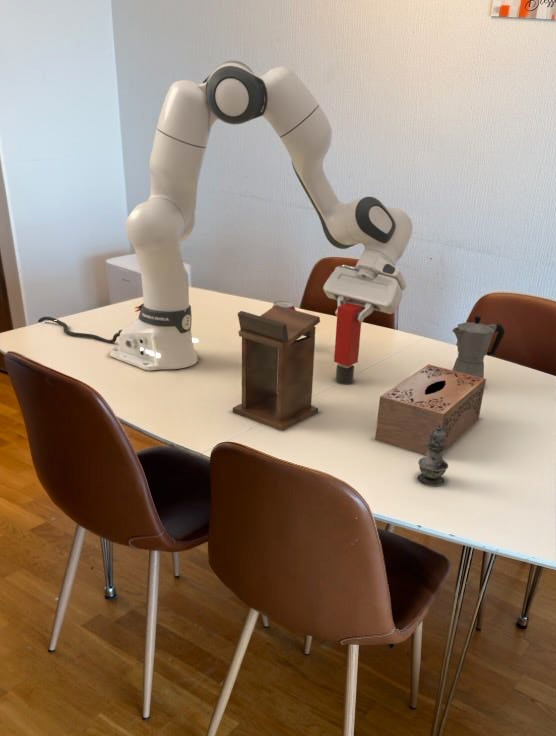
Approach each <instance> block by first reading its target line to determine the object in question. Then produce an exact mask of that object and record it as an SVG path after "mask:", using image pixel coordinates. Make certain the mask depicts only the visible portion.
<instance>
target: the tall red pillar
mask: <svg viewBox="0 0 556 736" xmlns="http://www.w3.org/2000/svg"><path fill="white" fill-rule="evenodd" d="M337 308H338V310H337V309H336V310H337V316H336V325H335V326H336V327H335V340H334V341H335V342H334V355H333V363H336V364H337V365H336V372H335V381H336V382H337V383H338V384H341V385H350V384H353V383H354V375H355V364H357V363H358V362H359V355H360V353H359V352H360V344H361V343H360V341H361V330H362V329H361V328H362V323H360V322H357V321H356V320H355V316H356V314H357V312H359V313H360V312H362V311H363V308H364V307H362V306H358V305H354V304H350V303H346V304H344V305H341V306H338V305H337Z"/></svg>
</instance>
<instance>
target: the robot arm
mask: <svg viewBox="0 0 556 736" xmlns="http://www.w3.org/2000/svg"><path fill="white" fill-rule="evenodd" d="M261 117H263V118H264V119H265V120H266V121H267V122H268V123H269V124H270V125H271V127H272V128H273V130H274V131H275V133H276V134H277V135H278V137H279V139H280V140H281V142H282V144H283V146H284V147H285V148H286V151H287V152H288V154H289V157H290V159H291V165H292V168H293V171H294V174H295V176H296V177H297V179H298V181H299V183H300V185H301V187H302V188H303V190H304V192H305V194H306V196H307V197H308V199H309V201H310V203H311V205H312V207H313V209H314V210H315V212H316V214H317V216H318V218H319V221H320V224H321V227H322V230H323V234H324V236H325V238H326V240H327V241H328V242H329V243H330V244H331V246H333V247H335V248H337V249H340V250H346V249H349V248H351V247H353V246H356V245H358V244H359V245H360V244H361V245H362V246H363V247H364V250H363V252H362V254H361V255H360V257H359V259H358V261H357V262H356V265H355V266H354V265H348V264H347V263H346V264H345V263H343V264H341V265H337V266H336V267H335V268H334V271H332V272H331V274H330V275H329V277H328V278H327V280H326V281H325V282H324V284H323V287H322V288H323V289H322V290H323V292H324V294H325V295H326V297H327V298H328V299H331V300H336V302H337V303H336V304H337V309H335V311H334V313H335V316H336V317H337V310H338V306H341V305H344V304H347V303H349V304H353V305H356V306H360V307H363V308H364V309H362V312H360V313H359V312H357V314H356V316H355V320H356V321H357V322H360V323H361V324H362V323H363V322H364V319H365V318H367V317H368V316H370V315H371V314H373V312H374V311H377V312H381V313H385V314H388V315H392V314H394V313H395V312H397V310H398V308H399V306H400V304H401V301H402V299H403V291H405V289H406V287H407V284H406V280H405V278H404V276H403V274H402V272H401V270H400V269H399V268H398V267H397V263H398V261H399V260H400V259H401V258H402V257H403V255H404V253H405V251H406V249H407V247H408V245H409V242H410V240H411V237H412V234H413V222H412V221H413V220H412V219H411V218H410V216H409V215H408V214H407V212H406V211H404V210H403V209H400V208H398V207H389V206H387V205H384V204H383V203H382V202H381V201H380V200H379V199H378V198H376V197H374V196H365V197H361V198H358V199H355V200H353V201H351V202H350V201H349V202H347V203H344V202H343V201H341V200H340V199H339V198H338V196H337V194H336V192H335V190H334V188H333V187H332V185H331V183H330V181H329V179H328V177H327V176H326V174H325V170H324V159H325V157H326V155H327V154H328V152H329V150H330V148H331V144H332V139H333V129H332V127H331V124H330V121H329V119H328V117H327V115H326V113H325V112H324V110H323V108H322V107H321V106H320V104H319V102H318V101H317V99H316V97H315V96H314V95H313V94H312V92H311V90H310V89H309V88H308V86H307V85H306V84H305V83H304V82H303V81H302V79H301V78H300V77H299V76H298V75H297V74H296V73H295V72H294V70H292V69H291V68H290V67H287V66H276V67H274V68H271V69H269V70H268V71H267V72H265V74H263V75H257V74H255V73H254V71H252V69H251V68H250V67H249V66H248V65H247V64H244V63H243V62H241V61H238V60H228V61H224V62H222V63H220V64H219V65H217V66H216V67H215V68H214V69H213V71H212V72H211V73H210V74H209V75H208V76H207V77H206V78H205V79H204V80H203V81H202V83H199V82H195V81H192V80H189V79H188V80H187V79H181V80H177V81H174V82H173V83H172V84H171V85H170V87H169V88H168V91H167V93H166V96H165V98H164V101H163V104H162V107H161V110H160V114H159V116H158V121H157V124H156V125H157V126H156V129H155V135H154V140H153V144H152V149H151V153H150V157H149V158H150V159H149V163H148V164H149V165H148V166H149V169H150V194H149V198H148V199H147V200H146V201H143V202H141V203H139V204H138V205H136V206H135V207H134V208H133V209H132V210H131V212H130V214H129V215H128V216H127V219H126V221H125V233H126V236H127V239H128V241H129V243H130V244H131V245H132V246H133V248H134V251H135V256H136V258H137V262H138V267H139V270H140V277H141V287H142V301H143V303H141V304H140V305H138V306H135V307H134V309H135V310H134V312H135V313H137V312H139V313H138V317H137V319H135V320H134V321H132V322H131V323H130V324H129V325H127V326H126V327H124V328H123V329H120V330H119V329H118V332H115V334H113V336H112V338H111V339H106V338H103V337H101V336H99V335H96V334H92V333H86V332H85V333H84V332H76V331H75V332H74V331H70V330H68V325H67V323H65V322H64V321H62V320H59V319H57V318H55V317H52V316H42V317H40V318H39V319H38V320H37V323H43V322H44V321H51V322H53V323H56V324H58V325H59V326H62V327H63V329H62V330H63V332H64V333H65V334H66V335H69V336H73V337H82V338H91V339H94V340H98V341H99V342H102V343H105V344H114V343H115V342H116V341H117V340H118V345H117V346H114V347H113V348H112V349H111V350H110V352H109V357H111V358H113V359H116V360H118V361H121V362H124V363H126V364H129V365H132V366H134V367H136V368H139V369H142V370H145V371H158V370H178V369H179V370H180V369H185V368H188V367H192V366H194V365H195V364H196V363H197V362H198V361H199V360H198V356H197V353H196V349H195V345H194V343H199V339H198V338H194V337H193V335H192V319H193V317H192V306H191V305H190V291H189V290H190V289H189V274H188V272H187V270H186V268H185V265H184V261H183V257H182V253H181V252H182V251H181V243H182V242H184V241H185V240H186V239H187V238H188V237H189V236H190V235H191V233H192V232H193V229H194V227H195V224H196V207H197V195H198V185H199V179H200V175H201V171H202V166H203V163H204V159H205V154H206V150H207V147H208V142H209V139H210V134H211V130H212V128H213V126H214V124H215V123H216V122H217V120H220V121H221V122H223V123H225V124H228V125H241V124H245V123H247V122H250V121H252V120H255V119H257V118H261ZM54 320H57V321H54ZM117 338H118V339H117Z"/></svg>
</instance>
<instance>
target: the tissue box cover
mask: <svg viewBox="0 0 556 736" xmlns="http://www.w3.org/2000/svg"><path fill="white" fill-rule="evenodd" d="M486 381H487V378H485V377H484V378H481V377H477V376H473V375H469V374H465V373H461V372H457V371H453V369H449V368H446V367H441V366H437V365H433V364H429V363H428V364H426V365H425V366H423V367H422V368H421V369H419V370H417V371H416V372H415V373H413V374H412V375H410V376H409V377H407V378H406V379H404V380H403V381H401V382H399V383H398V384H397V385H395V386H394V387H391V388H390V389H389V390H387V391H386V392H384V393H383V394H382V395H380V396H379V401H378V412H377V420H376V428H375V438H374V440H375V441H377V442H381V443H384V444H388V445H391V446H394V447H396V448H402V449H403V450H407V451H411V452H414V453H417V454H419V455H420V454H421V455H422V456H426V455H427V450H428V447H427V443H429V440H430V433H431V430H432V429H433V428H437V427H438V425H439V424H440V425H441V427H440V428H442V429H444V430H445V432H446V435H445V441H444V445H445V447H446V448H445V449H444V450H443V453H445V451H446V450H447V449H448V448H449V447H450V446H452V445H453V444H454V443H455V442H456V441H457V440H458V439H459V438H460V437H461V436H462V435H463V434H465V433H466V431H468V430H469V429H470V428H471V427H472V426H473V425H474V424H475V423H476V422H477V421H479V419H480V412H481V408H482V402H483V397H484V393H485V392H484V391H485V386H486Z"/></svg>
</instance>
